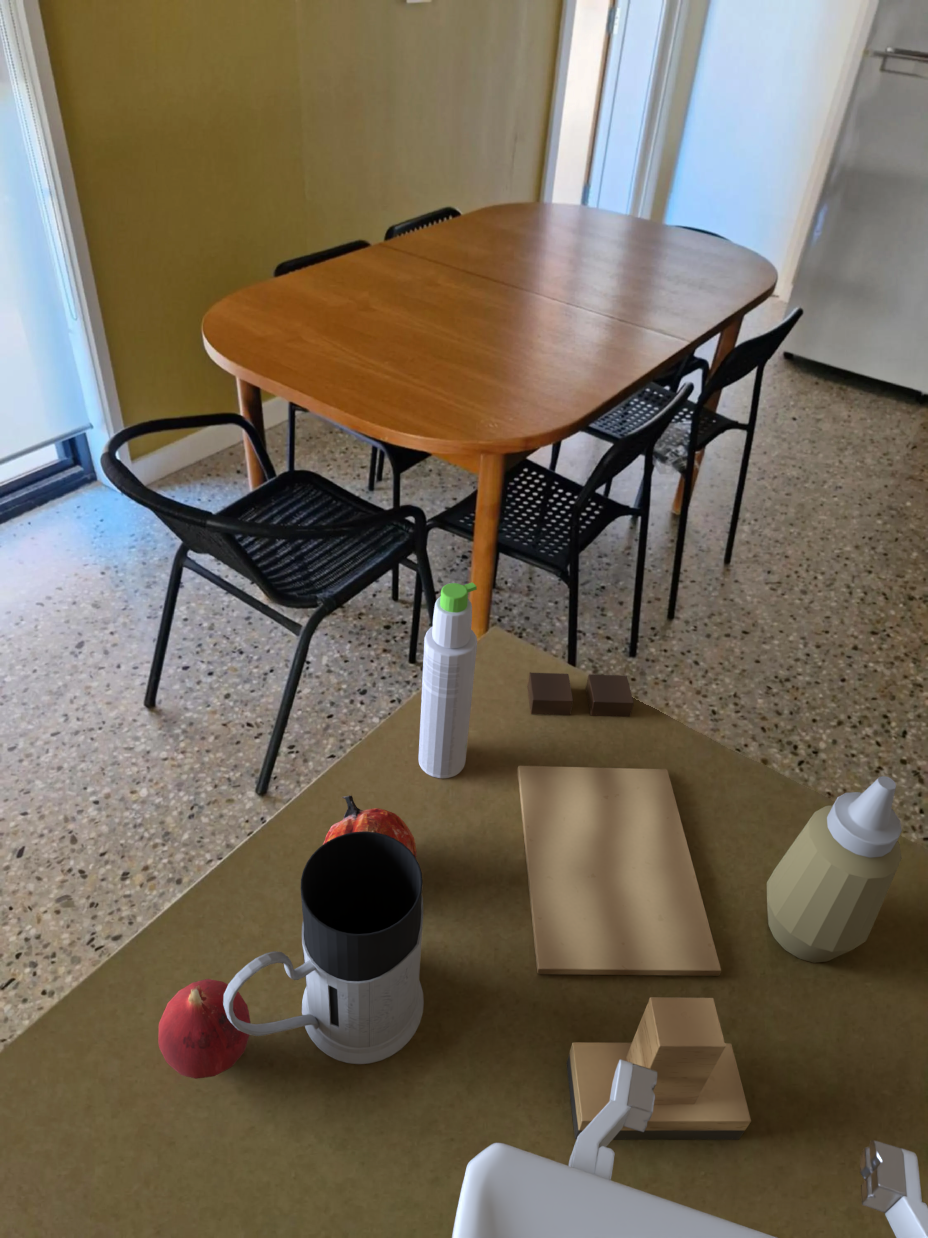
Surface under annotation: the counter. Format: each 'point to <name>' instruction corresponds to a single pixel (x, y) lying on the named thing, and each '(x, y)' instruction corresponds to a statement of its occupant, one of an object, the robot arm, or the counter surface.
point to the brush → (667, 1074)
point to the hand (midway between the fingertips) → (758, 1110)
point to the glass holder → (354, 950)
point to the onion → (202, 1030)
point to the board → (611, 874)
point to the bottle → (447, 683)
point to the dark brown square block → (609, 695)
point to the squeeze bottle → (836, 875)
